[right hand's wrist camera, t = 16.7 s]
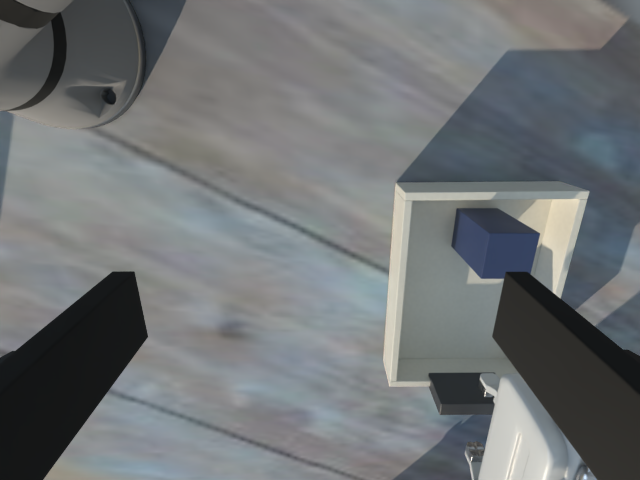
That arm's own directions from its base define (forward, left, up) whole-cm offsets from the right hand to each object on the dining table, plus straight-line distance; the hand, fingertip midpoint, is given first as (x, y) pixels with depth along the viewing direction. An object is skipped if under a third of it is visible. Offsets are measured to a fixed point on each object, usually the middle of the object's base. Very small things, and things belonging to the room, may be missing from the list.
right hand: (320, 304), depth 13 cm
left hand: (+25, +17, -18) cm, 35 cm away
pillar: (+6, +17, -26) cm, 32 cm away
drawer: (+13, +17, -27) cm, 34 cm away
